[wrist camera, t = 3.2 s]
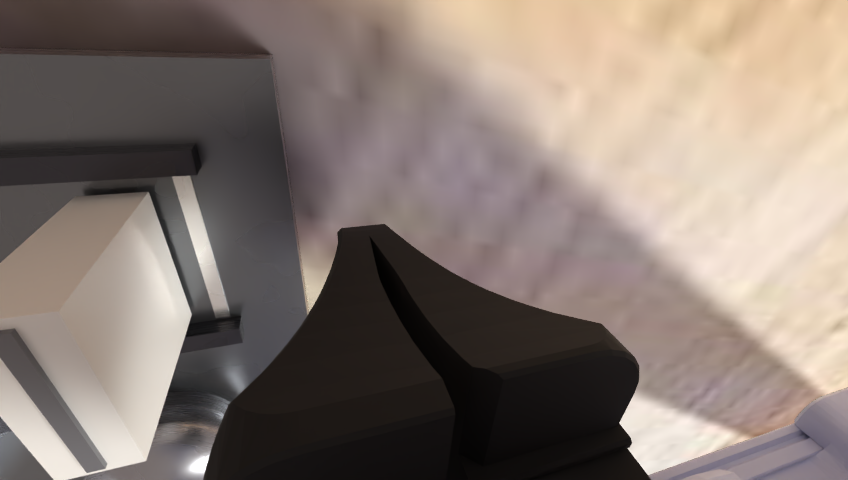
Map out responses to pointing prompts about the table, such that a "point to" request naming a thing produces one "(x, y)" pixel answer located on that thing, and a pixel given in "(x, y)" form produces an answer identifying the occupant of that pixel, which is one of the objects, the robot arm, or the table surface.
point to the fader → (90, 334)
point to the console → (165, 211)
